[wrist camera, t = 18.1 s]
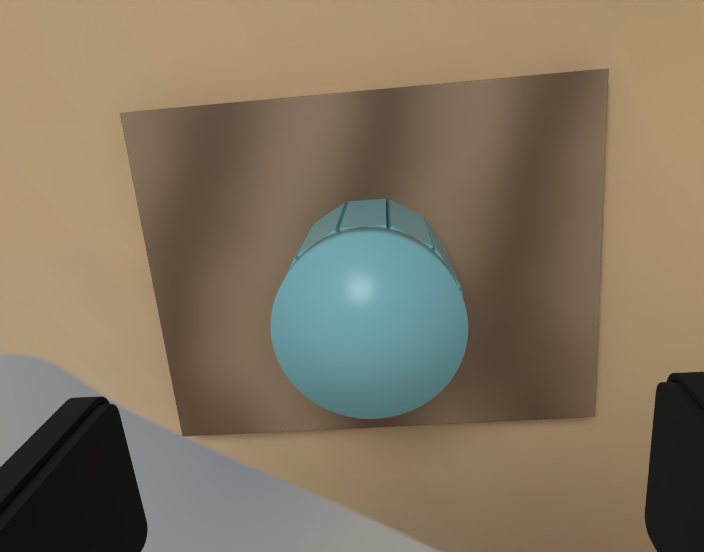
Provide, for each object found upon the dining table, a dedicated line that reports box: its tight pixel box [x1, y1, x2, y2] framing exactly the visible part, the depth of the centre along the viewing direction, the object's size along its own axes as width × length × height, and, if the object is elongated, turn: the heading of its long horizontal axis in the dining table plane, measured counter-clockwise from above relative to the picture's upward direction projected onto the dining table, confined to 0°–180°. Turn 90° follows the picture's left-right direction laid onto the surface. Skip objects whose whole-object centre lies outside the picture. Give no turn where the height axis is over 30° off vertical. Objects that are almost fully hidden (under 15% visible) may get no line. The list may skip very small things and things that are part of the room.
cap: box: [271, 199, 468, 419], centre depth 21 cm, size 6×6×6 cm
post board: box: [120, 69, 609, 436], centre depth 22 cm, size 18×14×6 cm
